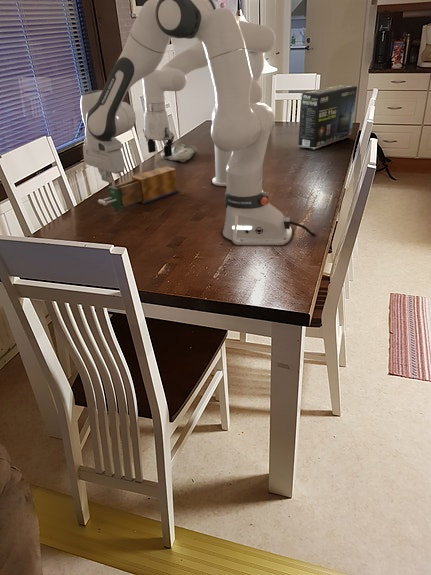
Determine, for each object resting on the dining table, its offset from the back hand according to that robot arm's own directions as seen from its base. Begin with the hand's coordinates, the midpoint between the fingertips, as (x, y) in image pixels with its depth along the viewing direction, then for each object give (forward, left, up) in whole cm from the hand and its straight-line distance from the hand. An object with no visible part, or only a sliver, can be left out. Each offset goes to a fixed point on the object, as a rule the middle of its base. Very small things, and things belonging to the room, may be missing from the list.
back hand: (160, 154), depth 177 cm
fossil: (-26, -45, -16) cm, 54 cm away
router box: (-103, -27, -16) cm, 108 cm away
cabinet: (+4, +1, -16) cm, 16 cm away
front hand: (+24, +8, -4) cm, 26 cm away
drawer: (+17, +6, -15) cm, 24 cm away
